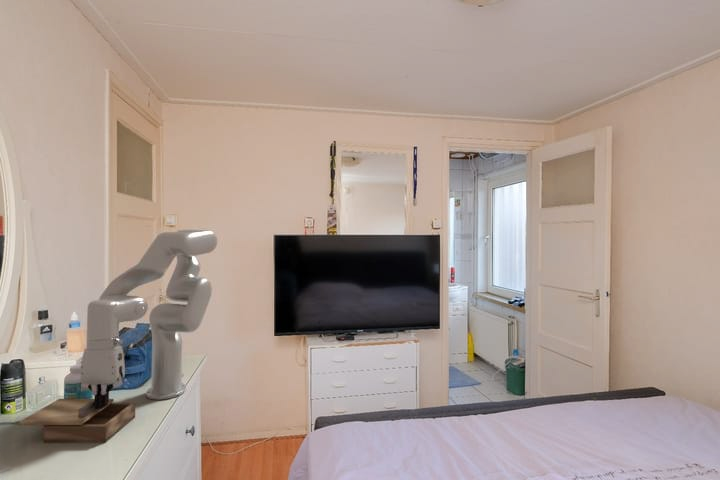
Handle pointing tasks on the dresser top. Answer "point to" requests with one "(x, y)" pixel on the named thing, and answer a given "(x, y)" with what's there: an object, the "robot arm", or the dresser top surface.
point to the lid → (64, 412)
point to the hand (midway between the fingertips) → (101, 406)
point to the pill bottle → (75, 385)
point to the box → (93, 426)
